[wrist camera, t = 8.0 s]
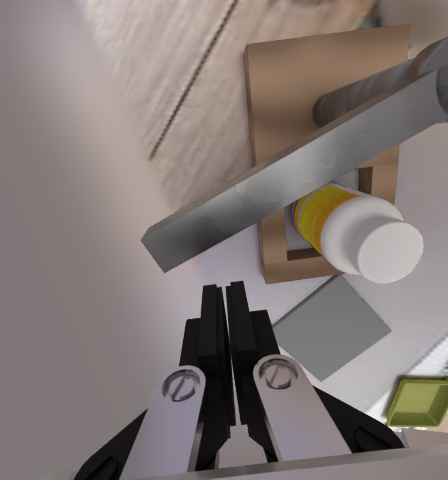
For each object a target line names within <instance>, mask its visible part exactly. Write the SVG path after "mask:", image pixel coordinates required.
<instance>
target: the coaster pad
mask: <svg viewBox="0 0 448 480" xmlns="http://www.w3.org/2000/svg"><path fill="white" fill-rule="evenodd" d="M272 328H273V331H274V335H275V338H276V341H277V344H278V345H279V346H281V347H282V348H283V349H284V350H285V351H286V352H287V353H289V354H290V355H291V356H292V357H293V358H294V359H295V360H297V361H298V362H299V363H300V364H301V365H302V366H303V367H305V368H306V369H307V370H308V371H309V372H310V373H311V374H313V375H314V376H315V377H316V378H317V379H318V380H319V381H321V382H322V381H323V380H325V379H326V378H327V377H329V376H330V375H332V374H333V373H334V372H336V371H337V370H338V369H340V368H341V367H343V366H344V365H345V364H347V363H348V362H350V361H351V360H352V359H354V358H355V357H356V356H358V355H359V354H361V353H362V352H363V351H365V350H366V349H368V348H369V347H370V346H372V345H373V344H375V343H376V342H377V341H379V340H380V339H381V338H383V337H384V336H386V335H387V334H388V333H390V332H391V330H390V328H389V327H388V326H387V325H386V324H385V323H384V322H383V321H382V320H381V319H380V317H379V316H378V315H377V314H376V313H375V312H374V311H373V310H372V309H371V308H370V307H369V305H368V304H367V303H366V302H365V301H364V300H363V299H362V298H361V297H360V296H359V294H358V293H357V292H356V291H355V290H354V289H353V288H352V287H351V286H350V285H349V283H348V282H347V281H346V280H345V279H344V278H343V277H342V276H341V275H340V274H337V275H334V276H333V277H332V278H331V279H329V280H328V281H327V282H326V283H324V284H323V285H322V286H321V287H319V288H318V289H317V290H316V291H315V292H313V293H312V294H311V295H310V296H308V297H307V298H306V299H305V300H303V301H302V302H301V303H300V304H298V305H297V306H296V307H295V308H293V309H292V310H291V311H290V312H288V313H287V314H286V315H285V316H284V317H282V318H281V319H280V320H279V321H277V322H276V323H275V324H274V325H272Z"/></svg>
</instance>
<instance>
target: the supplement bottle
mask: <svg viewBox="0 0 448 480" xmlns="http://www.w3.org/2000/svg"><path fill="white" fill-rule="evenodd" d="M291 218H292V223H293V225H294V227H295V229H296V230H297V232H298V233H299V234H300V235H301V236H302V237H303V238H304V239H305V240H306V241H307V242H309V243H310V244H311V245H312V246H313V247H314V248H315V249H316V250H317V251H318V252H319V253H320V254H321V255H322V256H323V257H324V258H325V259H326V260H327V261H328V262H329V263H330V264H331V265H333V266H334V267H335V268H337V269H338V270H340V271H342V272H345V273H348V274H354V275H362V276H364V277H365V278H366V279H368V280H369V281H371V282H374V283H379V284H387V283H392V282H395V281H398V280H400V279H402V278H404V277H405V276H407V275H408V274H409V273H410V272H412V271H413V270H414V268H415V267H416V266H417V264H418V263H419V261H420V259H421V257H422V254H423V249H424V243H423V238H422V236H421V234H420V232H419V231H418V230H417V229H416V228H415V227H414V226H412V225H411V224H409V223H407V222H404V220H403V217H402V215H401V213H400V212H399V210H398V209H397V208H396V207H395V206H394V205H393V204H391V203H390V202H388V201H386V200H384V199H382V198H378V197H375V196H372V195H369V194H366V193H363V192H359V191H356V190H353V189H350V188H347V187H344V186H341V185H338V184H335V183H331V182H329V183H327V184H325V185H323V186H321V187H320V188H318V189H316V190H314V191H312V192H311V193H309V194H307V195H305V196H303V197H301V198H300V199H298V200H296V201H294V203H293V206H292V210H291Z"/></svg>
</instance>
